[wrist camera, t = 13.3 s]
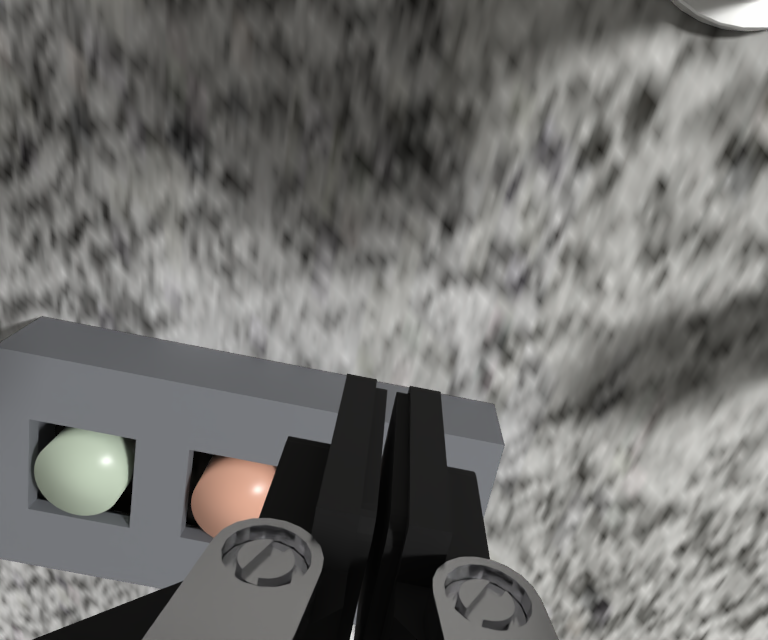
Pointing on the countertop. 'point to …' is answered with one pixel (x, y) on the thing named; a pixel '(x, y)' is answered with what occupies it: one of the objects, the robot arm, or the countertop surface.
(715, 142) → the countertop surface
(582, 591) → the countertop surface
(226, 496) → the terracotta button
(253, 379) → the button box
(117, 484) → the sage button
